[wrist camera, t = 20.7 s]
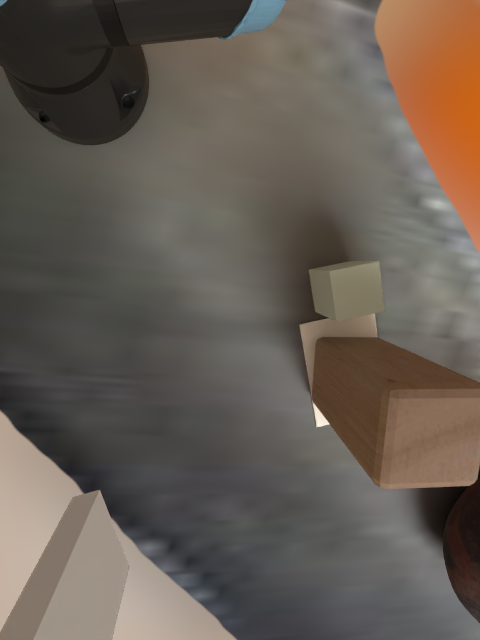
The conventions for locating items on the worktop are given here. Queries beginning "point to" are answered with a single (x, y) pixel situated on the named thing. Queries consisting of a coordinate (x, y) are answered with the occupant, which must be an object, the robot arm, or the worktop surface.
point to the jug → (464, 548)
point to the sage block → (347, 289)
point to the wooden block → (399, 412)
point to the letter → (331, 328)
